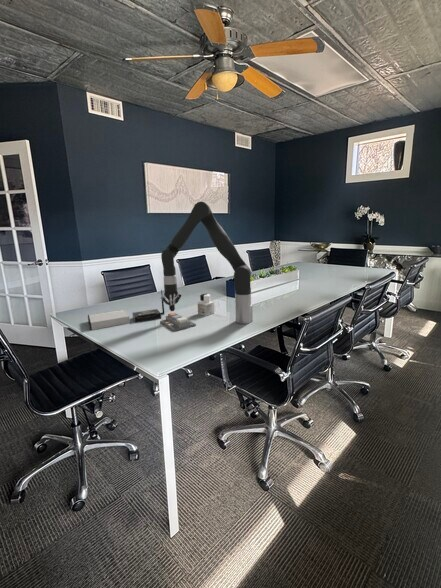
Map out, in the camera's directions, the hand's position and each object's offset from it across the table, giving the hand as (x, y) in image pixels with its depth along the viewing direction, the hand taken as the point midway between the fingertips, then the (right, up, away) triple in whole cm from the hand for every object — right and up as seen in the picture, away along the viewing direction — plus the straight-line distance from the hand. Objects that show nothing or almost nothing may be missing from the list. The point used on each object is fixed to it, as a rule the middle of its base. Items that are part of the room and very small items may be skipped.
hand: (172, 310), depth 178 cm
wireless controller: (-16, -6, +11) cm, 20 cm away
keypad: (+4, -8, -3) cm, 9 cm away
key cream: (+7, -6, -9) cm, 13 cm away
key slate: (+4, -5, -4) cm, 7 cm away
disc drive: (-40, -8, +5) cm, 41 cm away
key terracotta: (0, -4, +1) cm, 4 cm away
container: (+20, -3, +15) cm, 25 cm away
